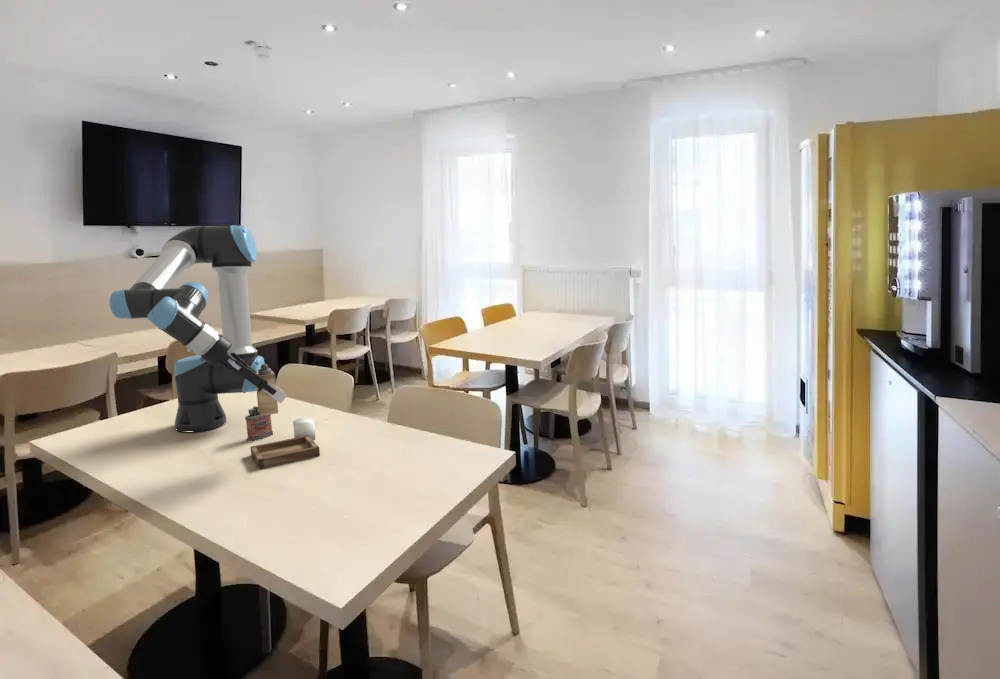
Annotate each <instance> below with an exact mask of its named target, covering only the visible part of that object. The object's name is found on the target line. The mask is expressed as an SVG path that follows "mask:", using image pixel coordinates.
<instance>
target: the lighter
mask: <svg viewBox="0 0 1000 679" xmlns="http://www.w3.org/2000/svg"><path fill="white" fill-rule="evenodd" d="M247 410H248V411H247V412H248V415H246V416H245V417H244V420H245V421H246V422H245V423H246V432H247V434H246V435H247V439H246V440H247V442H249V441H252V442H256V441H259V439H260V440H264V439H267V438H269V437H271V435H272V436H273V434H274V431H273V427H272V426H273V424H272V414H270V415H264V416H261V415H260V413H259V411H258V405H255V406H253V407H252V408H248V409H247ZM263 438H264V439H263ZM255 440H256V441H255Z"/></svg>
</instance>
